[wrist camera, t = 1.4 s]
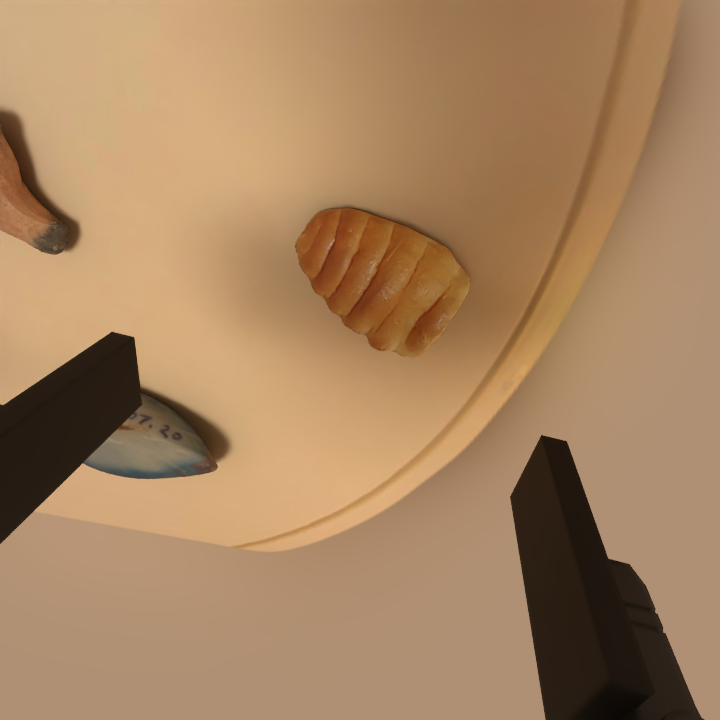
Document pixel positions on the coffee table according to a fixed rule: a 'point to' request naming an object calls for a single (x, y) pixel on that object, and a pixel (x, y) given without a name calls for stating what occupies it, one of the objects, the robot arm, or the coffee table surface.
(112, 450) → the seashell
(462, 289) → the pastry
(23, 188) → the oil lamp
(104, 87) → the coffee table surface
